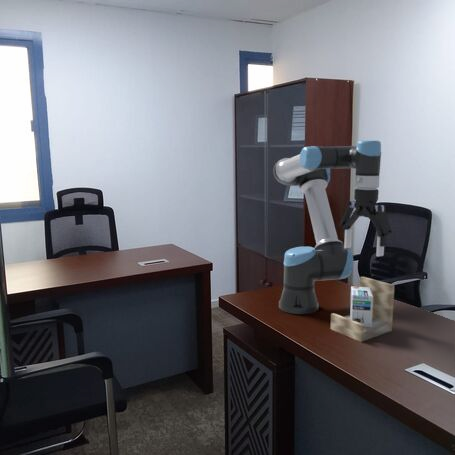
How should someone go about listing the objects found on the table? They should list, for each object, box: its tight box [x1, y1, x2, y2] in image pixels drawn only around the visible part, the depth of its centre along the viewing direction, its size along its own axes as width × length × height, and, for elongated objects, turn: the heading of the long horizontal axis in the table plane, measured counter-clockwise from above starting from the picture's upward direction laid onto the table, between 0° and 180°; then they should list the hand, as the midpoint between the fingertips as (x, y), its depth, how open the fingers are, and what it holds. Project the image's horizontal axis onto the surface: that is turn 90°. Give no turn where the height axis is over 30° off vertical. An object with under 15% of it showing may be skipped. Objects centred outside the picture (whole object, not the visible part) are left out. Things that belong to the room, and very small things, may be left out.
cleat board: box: [330, 276, 395, 343], centre depth 154 cm, size 13×16×16 cm
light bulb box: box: [349, 285, 373, 327], centre depth 155 cm, size 11×7×11 cm, turn 168°
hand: (363, 251), depth 154 cm, fingers open, 13 cm apart
